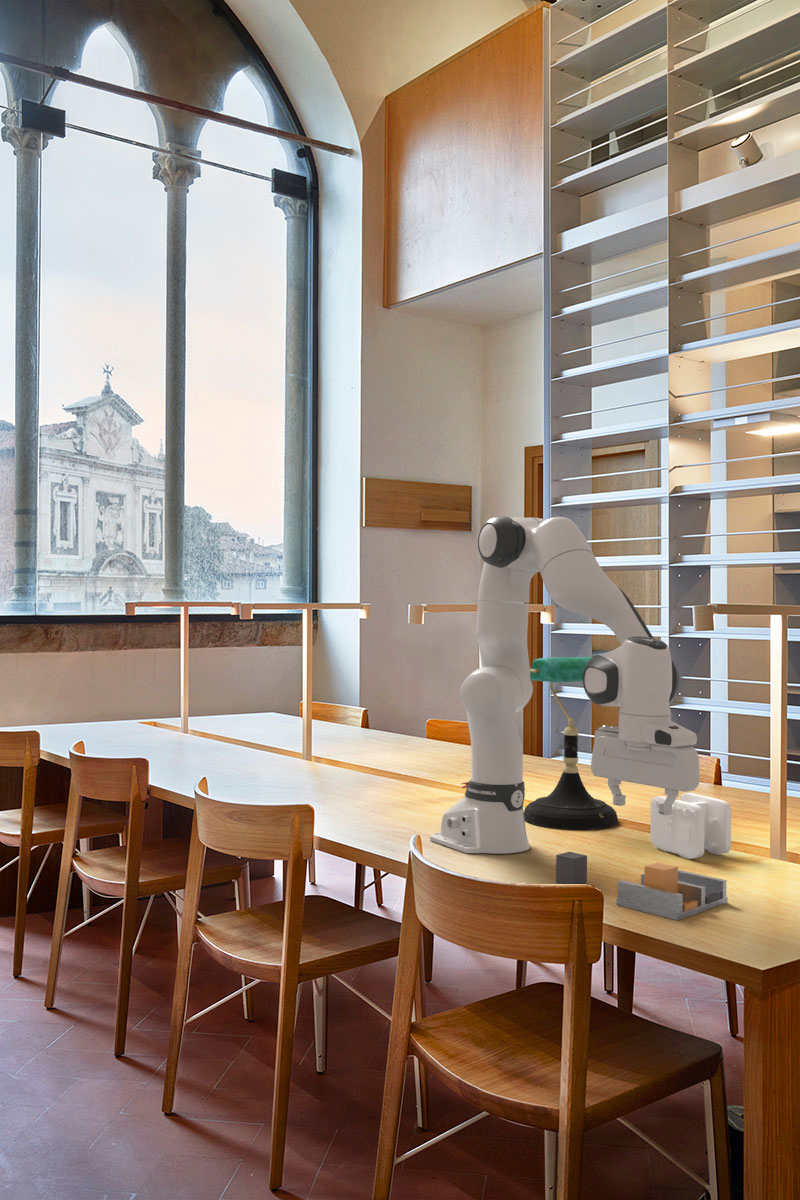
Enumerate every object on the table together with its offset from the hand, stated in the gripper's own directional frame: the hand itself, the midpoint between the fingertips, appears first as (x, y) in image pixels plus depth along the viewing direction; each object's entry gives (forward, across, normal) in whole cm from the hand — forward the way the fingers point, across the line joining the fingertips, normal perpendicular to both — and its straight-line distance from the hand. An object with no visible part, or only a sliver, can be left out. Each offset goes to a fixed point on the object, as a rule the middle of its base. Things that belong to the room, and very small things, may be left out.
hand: (641, 809), depth 178 cm
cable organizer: (+16, -15, +41) cm, 47 cm away
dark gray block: (+17, -14, -1) cm, 22 cm away
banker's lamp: (+17, -53, +49) cm, 74 cm away
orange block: (+15, +4, 0) cm, 16 cm away
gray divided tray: (+16, +4, +4) cm, 17 cm away
